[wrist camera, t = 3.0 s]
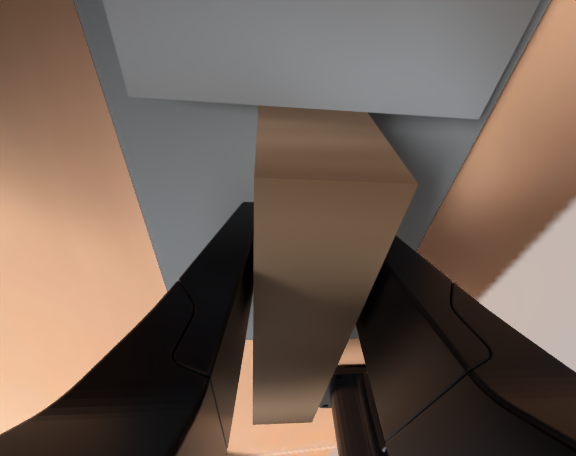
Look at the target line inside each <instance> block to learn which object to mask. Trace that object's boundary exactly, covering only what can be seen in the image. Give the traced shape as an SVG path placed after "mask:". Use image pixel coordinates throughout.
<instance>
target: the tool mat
mask: <svg viewBox="0 0 576 456" xmlns="http://www.w3.org/2000/svg"><path fill="white" fill-rule="evenodd" d="M73 1H74V4H75V7H76V10H77V13H78V16H79V19H80V22H81V25H82V28H83V32H84V35H85V38H86V41H87V44H88V47H89V50H90V53H91V56H92V60H93V63H94V66H95V69H96V72H97V75H98V78H99V81H100V84H101V87H102V91H103V94H104V97H105V100H106V103H107V106H108V109H109V112H110V115H111V119H112V122H113V125H114V128H115V131H116V134H117V137H118V140H119V143H120V147H121V150H122V153H123V156H124V159H125V162H126V165H127V168H128V171H129V174H130V178H131V181H132V184H133V187H134V190H135V193H136V196H137V199H138V202H139V206H140V209H141V212H142V215H143V218H144V221H145V224H146V227H147V230H148V233H149V237H150V240H151V243H152V246H153V249H154V252H155V255H156V258H157V261H158V265H159V268H160V271H161V274H162V277H163V280H164V283H165V286H166V289H167V292H168V291H169V290H170V288H171V287H172V286H173V285H174V284H175V282H176V281H178V279H179V278H180V277H181V275H182V274H183V273H184V272H185V271H186V269H187V268H188V267H189V266H190V265H191V263H192V262H193V261H194V260H195V259H196V257H197V256H198V255H199V254H200V253H201V251H202V250H203V249H204V248H205V247H206V245H207V244H208V243H209V242H210V241H211V239H212V238H213V237H214V236H215V235H216V233H217V232H218V231H219V230H220V229H221V227H222V226H223V225H224V224H225V223H226V221H227V220H228V219H229V218H230V217H231V215H232V214H233V213H234V212H235V210H236V209H237V208H238V207H239V206H240V204H241V203H242V202H254V170H255V153H256V136H257V120H258V105H247V104H231V103H216V102H200V101H185V100H169V99H154V98H138V97H128V93H127V89H126V85H125V82H124V78H123V74H122V71H121V67H120V63H119V59H118V56H117V52H116V48H115V45H114V41H113V37H112V33H111V30H110V26H109V22H108V19H107V15H106V11H105V8H104V4H103V0H73ZM550 1H551V0H541V1H540V3H539V5H538V7H537V8H536V10H535V12H534V14H533V16H532V18H531V20H530V22H529V24H528V26H527V28H526V30H525V32H524V33H523V35H522V37H521V39H520V41H519V43H518V45H517V47H516V49H515V51H514V53H513V55H512V57H511V58H510V60H509V62H508V64H507V66H506V68H505V70H504V72H503V74H502V76H501V78H500V80H499V82H498V83H497V85H496V87H495V89H494V91H493V93H492V95H491V97H490V99H489V101H488V103H487V105H486V107H485V108H484V110H483V112H482V114H481V116H480V118H479V119H464V118H448V117H433V116H417V115H402V114H386V113H371V112H368V114H369V115H370V117H371V118H372V119H373V121H374V122H375V124H376V125H377V127H378V128H379V129H380V131H381V132H382V134H383V135H384V136H385V138H386V139H387V141H388V142H389V143H390V145H391V146H392V148H393V149H394V151H395V152H396V153H397V155H398V156H399V158H400V159H401V160H402V162H403V163H404V165H405V166H406V168H407V169H408V170H409V172H410V173H411V175H412V176H413V177H414V179H415V180H416V182H417V183H418V186H417V188H416V191H415V193H414V195H413V197H412V199H411V202H410V204H409V206H408V208H407V211H406V213H405V215H404V217H403V220H402V222H401V224H400V226H399V229H398V231H397V233H396V236H397V237H399V238H400V239H401V240H402V241H404V242H405V243H406V244H407V245H409V246H410V247H411V248H412V249H413V250H415V251H416V250H417V248H418V246H419V244H420V242H421V241H422V239H423V237H424V235H425V233H426V231H427V229H428V228H429V226H430V224H431V222H432V220H433V218H434V216H435V215H436V213H437V211H438V209H439V207H440V205H441V203H442V202H443V200H444V198H445V196H446V194H447V192H448V190H449V189H450V187H451V185H452V183H453V181H454V179H455V177H456V176H457V174H458V172H459V170H460V168H461V166H462V164H463V163H464V161H465V159H466V157H467V155H468V153H469V151H470V150H471V148H472V146H473V144H474V142H475V140H476V138H477V137H478V135H479V133H480V131H481V129H482V127H483V125H484V123H485V122H486V120H487V118H488V116H489V114H490V112H491V110H492V109H493V107H494V105H495V103H496V101H497V99H498V97H499V96H500V94H501V92H502V90H503V88H504V86H505V84H506V83H507V81H508V79H509V77H510V75H511V73H512V71H513V70H514V68H515V66H516V64H517V62H518V60H519V58H520V57H521V55H522V53H523V51H524V49H525V47H526V45H527V44H528V42H529V40H530V38H531V36H532V34H533V32H534V31H535V29H536V27H537V25H538V23H539V21H540V19H541V18H542V16H543V14H544V12H545V10H546V8H547V6H548V5H549V3H550ZM350 338H359V336H358V332H357V328H356V325H355V327H354V329H353V331H352V334H351V336H350ZM245 340H253V297H252V303H251V309H250V315H249V321H248V327H247V333H246V339H245Z"/></svg>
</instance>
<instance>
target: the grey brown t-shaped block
mask: <svg viewBox="0 0 576 456" xmlns="http://www.w3.org/2000/svg"><path fill="white" fill-rule="evenodd" d="M540 1H541V0H103V4H104V8H105V11H106V15H107V19H108V22H109V26H110V30H111V33H112V37H113V41H114V45H115V48H116V52H117V56H118V59H119V63H120V67H121V71H122V74H123V78H124V82H125V85H126V89H127V93H128V97H138V98H154V99H169V100H185V101H200V102H216V103H231V104H247V105H258V120H257V136H256V153H255V170H254V283H253V425H256V424H281V423H306V422H312V421H313V418H314V416H315V414H316V412H317V409H318V407H319V405H320V403H321V401H322V398H323V396H324V394H325V392H326V389H327V387H328V385H329V383H330V380H331V378H332V376H333V374H334V372H335V369H336V367H337V365H338V363H339V360H340V358H341V356H342V354H343V351H344V349H345V347H346V345H347V342H348V340H349V338H350V336H351V334H352V331H353V329H354V327H355V325H356V322H357V320H358V318H359V316H360V313H361V311H362V309H363V307H364V304H365V302H366V300H367V298H368V296H369V293H370V291H371V289H372V287H373V284H374V282H375V280H376V278H377V275H378V273H379V271H380V269H381V267H382V264H383V262H384V260H385V258H386V255H387V253H388V251H389V249H390V246H391V244H392V242H393V240H394V237H395V235H396V233H397V231H398V229H399V226H400V224H401V222H402V220H403V217H404V215H405V213H406V211H407V208H408V206H409V204H410V202H411V199H412V197H413V195H414V193H415V191H416V188H417V186H418V183H417V182H416V180H415V179H414V177H413V176H412V175H411V173H410V172H409V170H408V169H407V168H406V166H405V165H404V163H403V162H402V160H401V159H400V158H399V156H398V155H397V153H396V152H395V151H394V149H393V148H392V146H391V145H390V143H389V142H388V141H387V139H386V138H385V136H384V135H383V134H382V132H381V131H380V129H379V128H378V127H377V125H376V124H375V122H374V121H373V119H372V118H371V117H370V115H369V114H368V112H371V113H386V114H402V115H417V116H433V117H448V118H464V119H479V118H480V116H481V114H482V112H483V110H484V108H485V107H486V105H487V103H488V101H489V99H490V97H491V95H492V93H493V91H494V89H495V87H496V85H497V83H498V82H499V80H500V78H501V76H502V74H503V72H504V70H505V68H506V66H507V64H508V62H509V60H510V58H511V57H512V55H513V53H514V51H515V49H516V47H517V45H518V43H519V41H520V39H521V37H522V35H523V33H524V32H525V30H526V28H527V26H528V24H529V22H530V20H531V18H532V16H533V14H534V12H535V10H536V8H537V7H538V5H539V3H540Z"/></svg>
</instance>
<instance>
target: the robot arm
mask: <svg viewBox="0 0 576 456" xmlns="http://www.w3.org/2000/svg"><path fill="white" fill-rule="evenodd" d="M253 283H254V202H242V203H241V204H240V206H239V207H238V208H237V209H236V210H235V212H234V213H233V214H232V215H231V217H230V218H229V219H228V220H227V221H226V223H225V224H224V225H223V226H222V227H221V229H220V230H219V231H218V232H217V233H216V235H215V236H214V237H213V238H212V239H211V241H210V242H209V243H208V244H207V245H206V247H205V248H204V249H203V250H202V251H201V253H200V254H199V255H198V256H197V257H196V259H195V260H194V261H193V262H192V263H191V265H190V266H189V267H188V268H187V269H186V271H185V272H184V273H183V274H182V275H181V277H180V278H179V279H178V281H176V282H175V284H174V285H173V286H172V287H171V288H170V290H169V291H168V292H167V293H166V294H165V295H164V297H163V298H162V299H161V300H160V301H159V302H158V303H157V304H156V306H155V307H154V308H153V309H152V310H151V311H150V312H149V313H148V314H147V315H146V316H145V317H144V318H143V319H142V320H141V321H140V322H139V323H138V324H137V325H136V326H135V327H134V328H133V329H132V330H131V331H130V332H129V333H128V334H127V335H126V336H125V337H124V338H123V339H122V340H121V341H120V342H119V343H118V344H117V345H116V346H115V347H114V348H113V349H112V350H111V351H110V352H109V353H108V354H107V355H105V356H104V357H103V358H102V359H101V360H100V361H99V362H98V363H97V364H96V365H95V366H94V367H93V368H92V369H91V370H90V371H89V372H88V373H87V374H86V375H85V376H84V377H83V378H82V379H81V380H80V381H79V382H77V383H76V384H75V385H74V386H73V387H72V388H71V389H70V390H69V391H67V392H66V393H65V394H64V395H63V396H61V397H60V398H59V399H58V400H56V401H55V402H54V403H52V404H51V405H50V406H48V407H47V408H45V409H44V410H42V411H41V412H39V413H38V414H36V415H35V416H33V417H31V418H30V419H28V420H26V421H24V422H23V423H21V424H19V425H17V426H15V427H13V428H11V429H10V430H8V431H6V432H4V433H2V434H0V456H226V455H227V448H228V443H229V437H230V430H231V424H232V418H233V412H234V406H235V400H236V394H237V388H238V382H239V376H240V370H241V364H242V358H243V352H244V345H245V339H246V333H247V327H248V321H249V315H250V309H251V303H252V297H253ZM356 328H357V332H358V336H359V340H360V344H361V348H362V352H363V356H364V360H365V364H366V367H345V368H336V369H335V372H334V374H333V376H332V378H331V380H330V383H329V385H328V387H327V389H326V392H325V394H324V396H323V398H322V401H321V403H320V405H319V407H320V408H332V414H333V420H334V427H335V434H336V441H337V447H338V454H339V456H576V372H574V371H573V370H571V369H570V368H569V367H567V366H566V365H564V364H563V363H562V362H560V361H559V360H557V359H556V358H555V357H553V356H552V355H550V354H549V353H547V352H546V351H545V350H543V349H542V348H540V347H539V346H538V345H536V344H535V343H533V342H532V341H531V340H529V339H528V338H526V337H525V336H524V335H522V334H521V333H519V332H518V331H517V330H515V329H514V328H512V327H511V326H510V325H508V324H507V323H505V322H504V321H503V320H501V319H500V318H499V317H497V316H496V315H495V314H493V313H492V312H490V311H489V310H488V309H486V308H485V307H484V306H483V305H481V304H480V303H479V302H478V301H476V300H475V299H474V298H472V297H471V296H470V295H469V294H467V293H466V292H465V291H464V290H462V289H461V288H460V287H459V286H458V285H456V284H455V283H452V281H451V280H450V279H449V278H448V277H446V276H445V275H444V274H443V273H442V272H440V271H439V270H438V269H437V268H435V267H434V266H433V265H432V264H431V263H429V262H428V261H427V260H426V259H424V258H423V257H422V256H421V255H420V254H418V253H417V252H416V251H415V250H413V249H412V248H411V247H410V246H409V245H407V244H406V243H405V242H404V241H402V240H401V239H400V238H399V237H397V236H396V235H395V237H394V240H393V242H392V244H391V246H390V249H389V251H388V253H387V255H386V258H385V260H384V262H383V264H382V267H381V269H380V271H379V273H378V275H377V278H376V280H375V282H374V284H373V287H372V289H371V291H370V293H369V296H368V298H367V300H366V302H365V304H364V307H363V309H362V311H361V313H360V316H359V318H358V320H357V322H356Z"/></svg>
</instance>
